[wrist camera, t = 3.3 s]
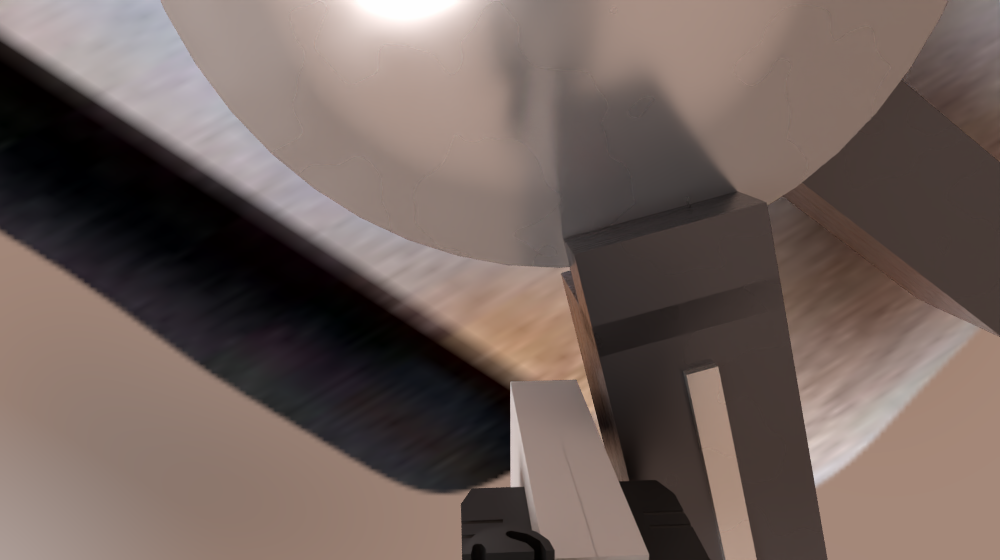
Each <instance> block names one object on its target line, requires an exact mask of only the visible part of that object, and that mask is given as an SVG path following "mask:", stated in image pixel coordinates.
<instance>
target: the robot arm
mask: <svg viewBox="0 0 1000 560" xmlns="http://www.w3.org/2000/svg"><path fill="white" fill-rule="evenodd" d="M510 410H511V487H506V488H504V487H503V488H476V489H471V491H470V492H469V493H468V495H467V496H466V498H465V499H464V501H463V502H462V503H461V520H462V521H461V522H462V560H710V558H709V556H708V555H707V553H706V551H705V549H704V547H703V545H702V544H701V542H700V540H699V538H698V536H697V534H696V532H695V531H694V529H693V527H691V523H690V521H689V519H688V518H687V516H686V514H685V513H684V511H683V508H682V506H681V505H680V503H679V501H678V499H677V497H676V495H675V494H674V493H673V492H672V491H670V490H669V489H668V488H666V487H665V486H664V485H662V484H661V483H660V482H658V481H657V480H641V481H618V479H617V476H616V474H615V471H614V469H613V467H612V464H611V462H610V459H609V457H608V455H607V452H606V450H605V447H604V445H603V443H602V440H601V438H600V435H599V433H598V431H597V428H596V426H595V423H594V421H593V419H592V416H591V414H590V411H589V409H588V407H587V404H586V402H585V399H584V397H583V395H582V392H581V390H580V387H579V385H578V383H577V380H552V381H517V382H510Z"/></svg>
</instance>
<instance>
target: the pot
mask: <svg viewBox="0 0 1000 560" xmlns="http://www.w3.org/2000/svg"><path fill="white" fill-rule="evenodd" d="M783 196H784V197H785V198H786V199H787V200H789V201H790V202H791V203H793V204H794V205H795V206H797V207H798V208H799V209H801V210H802V211H803V212H805V213H806V214H807V215H808V216H810V217H811V218H812V219H814V220H815V221H816V222H818V223H819V224H820V225H822V226H823V227H824V228H825V229H827V230H828V231H829V232H831V233H832V234H833V235H835V236H836V237H837V238H839V239H840V240H841V241H843V242H844V243H845V244H846V245H848V246H849V247H850V248H852V249H853V250H854V251H856V252H857V253H858V254H860V255H861V256H862V257H863V258H865V259H866V260H867V261H869V262H870V263H871V264H873V265H874V266H875V267H877V268H878V269H879V270H881V271H882V272H883V273H884V274H886V275H887V276H888V277H890V278H891V279H892V280H894V281H895V282H896V283H898V284H899V285H900V286H901V287H903V288H904V289H905V290H907V291H908V292H909V293H911V294H912V295H913V296H915V297H916V298H917V299H920V300H922V301H924V302H926V303H928V304H930V305H932V306H935V307H937V308H939V309H941V310H943V311H945V312H947V313H950V314H952V315H954V316H956V317H958V318H960V319H963V320H965V321H967V322H969V323H971V324H973V325H975V326H978V327H980V328H982V329H984V330H986V331H988V332H991V333H993V334H995V335H997V336H999V337H1000V162H999V161H998V160H996V159H995V158H994V157H993V156H992V155H990V154H989V153H988V152H987V151H986V150H984V149H983V148H982V147H981V146H980V145H978V144H977V143H976V142H975V141H974V140H972V139H971V138H970V137H969V136H968V135H967V134H965V133H964V132H963V131H962V130H961V129H959V128H958V127H957V126H956V125H955V124H953V123H952V122H951V121H950V120H949V119H947V118H946V117H945V116H944V115H943V114H941V113H940V112H939V111H938V110H937V109H935V108H934V107H933V106H932V105H931V104H930V103H928V102H927V101H926V100H925V99H924V98H922V97H921V96H920V95H919V94H918V93H916V92H915V91H914V90H913V89H912V88H910V87H909V86H908V85H907V84H906V83H904V82H903V81H902V80H901V81H900V82H899V84H898V85H897V86H896V88H895V89H894V90H893V92H892V93H891V94H890V96H889V97H888V98H887V99H886V101H885V102H884V103H883V105H882V106H881V107H880V109H879V110H878V111H877V113H876V114H875V115H874V116H873V117H872V118H871V119H870V120H869V121H868V122H867V123H866V124H865V125H864V126H863V127H862V128H861V129H860V130H859V131H858V132H857V134H856V135H855V136H854V137H853V138H852V139H851V140H850V141H849V142H848V143H847V144H846V145H845V146H844V147H843V148H842V149H841V150H840V151H839V152H838V153H837V154H836V155H835V156H833V157H832V158H831V159H830V160H829V161H827V162H826V163H825V164H824V165H823V166H821V167H820V168H819V169H818V170H816V171H815V172H814V173H813V174H812V175H810V176H809V177H808V178H807V179H806V180H804V181H803V182H802V183H801V184H800V185H798V186H797V187H796V188H794V189H792V190H791V191H789V192H788V193H786V194H785V195H783Z"/></svg>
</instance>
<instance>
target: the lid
mask: <svg viewBox="0 0 1000 560" xmlns="http://www.w3.org/2000/svg"><path fill="white" fill-rule="evenodd" d="M947 2H948V0H161V3H162V5H163V7H164V10H165V12H166V13H167V15H168V17H169V19H170V20H171V22H172V24H173V25H174V27H175V29H176V31H177V32H178V34H179V36H180V38H181V39H182V41H183V43H184V45H185V46H186V48H187V50H188V51H189V53H190V55H191V57H192V58H193V60H194V62H195V64H196V65H197V66H198V68H199V69H200V70H201V72H202V73H203V74H204V76H205V77H206V78H207V80H208V81H209V82H210V84H211V85H212V86H213V88H214V89H215V90H216V92H217V93H218V94H219V96H220V97H221V98H222V100H223V101H224V102H225V104H226V105H227V106H228V108H229V109H230V110H231V112H232V113H233V114H234V115H235V116H236V117H237V118H238V119H239V120H240V121H241V122H242V123H243V124H244V125H245V126H246V127H247V128H248V129H249V131H250V132H251V133H252V134H253V135H254V136H255V137H256V138H257V139H258V140H259V141H260V142H261V143H262V144H263V145H264V146H265V147H266V148H267V149H268V150H269V151H270V152H271V153H272V154H273V155H274V156H275V157H276V158H278V159H279V160H280V161H281V162H283V163H284V164H285V165H286V166H287V167H289V168H290V169H291V170H292V171H294V172H295V173H296V174H297V175H298V176H300V177H301V178H302V179H303V180H305V181H306V182H307V183H308V184H309V185H311V186H312V187H313V188H314V189H316V190H317V191H319V192H321V193H322V194H324V195H325V196H327V197H329V198H330V199H332V200H333V201H335V202H336V203H338V204H340V205H341V206H343V207H344V208H346V209H348V210H349V211H351V212H352V213H354V214H356V215H357V216H359V217H360V218H362V219H365V220H367V221H369V222H371V223H373V224H375V225H377V226H380V227H382V228H384V229H386V230H388V231H390V232H392V233H395V234H397V235H399V236H401V237H403V238H405V239H407V240H410V241H413V242H416V243H420V244H423V245H426V246H429V247H432V248H435V249H438V250H441V251H445V252H448V253H451V254H454V255H457V256H462V257H467V258H473V259H478V260H484V261H489V262H495V263H500V264H506V265H518V266H537V267H556V268H560V267H570V270H571V271H568V272H564V273H561V275H562V279H563V283H564V287H565V291H566V295H567V299H568V303H569V307H570V311H571V315H572V319H573V323H574V327H575V331H576V335H577V339H578V343H579V347H580V351H581V355H582V359H583V363H584V367H585V371H586V375H587V379H588V383H589V387H590V391H591V395H592V399H593V403H594V407H595V411H596V415H597V419H598V423H599V427H600V431H601V435H602V439H603V443H604V447H605V450H606V452H607V455H608V457H609V459H610V462H611V464H612V467H613V469H614V471H615V474H616V476H617V479H618V481H641V480H657V481H658V482H660V483H661V484H662V485H664V486H665V487H666V488H668V489H669V490H670V491H672V492H673V493H674V494H675V495H676V497H677V499H678V501H679V503H680V505H681V506H682V508H683V511H684V513H685V514H686V516H687V518H688V519H689V521H690V523H691V527H693V529H694V531H695V532H696V534H697V536H698V538H699V540H700V542H701V544H702V545H703V547H704V549H705V551H706V553H707V555H708V556H709V558H710V560H827V554H826V548H825V542H824V537H823V531H822V525H821V519H820V513H819V508H818V501H817V496H816V489H815V484H814V478H813V472H812V466H811V460H810V454H809V448H808V443H807V437H806V431H805V425H804V419H803V413H802V407H801V401H800V396H799V390H798V384H797V378H796V372H795V366H794V360H793V354H792V349H791V343H790V337H789V331H788V325H787V319H786V313H785V307H784V302H783V296H782V290H781V284H780V278H779V272H778V266H777V260H776V255H775V249H774V243H773V237H772V231H771V225H770V219H769V213H768V208H767V206H768V205H769V204H771V203H772V202H774V201H775V200H777V199H778V198H780V197H782V196H783V195H785V194H786V193H788V192H789V191H791V190H792V189H794V188H796V187H797V186H798V185H800V184H801V183H802V182H803V181H804V180H806V179H807V178H808V177H809V176H810V175H812V174H813V173H814V172H815V171H816V170H818V169H819V168H820V167H821V166H823V165H824V164H825V163H826V162H827V161H829V160H830V159H831V158H832V157H833V156H835V155H836V154H837V153H838V152H839V151H840V150H841V149H842V148H843V147H844V146H845V145H846V144H847V143H848V142H849V141H850V140H851V139H852V138H853V137H854V136H855V135H856V134H857V132H858V131H859V130H860V129H861V128H862V127H863V126H864V125H865V124H866V123H867V122H868V121H869V120H870V119H871V118H872V117H873V116H874V115H875V114H876V113H877V111H878V110H879V109H880V107H881V106H882V105H883V103H884V102H885V101H886V99H887V98H888V97H889V96H890V94H891V93H892V92H893V90H894V89H895V88H896V86H897V85H898V84H899V82H900V81H901V80H902V78H903V77H904V76H905V74H906V73H907V72H908V71H909V69H910V68H911V66H912V65H913V63H914V61H915V60H916V58H917V56H918V54H919V53H920V51H921V49H922V48H923V46H924V44H925V43H926V41H927V39H928V38H929V36H930V34H931V33H932V31H933V29H934V28H935V26H936V24H937V23H938V21H939V19H940V17H941V15H942V13H943V11H944V9H945V6H946V4H947Z"/></svg>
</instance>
